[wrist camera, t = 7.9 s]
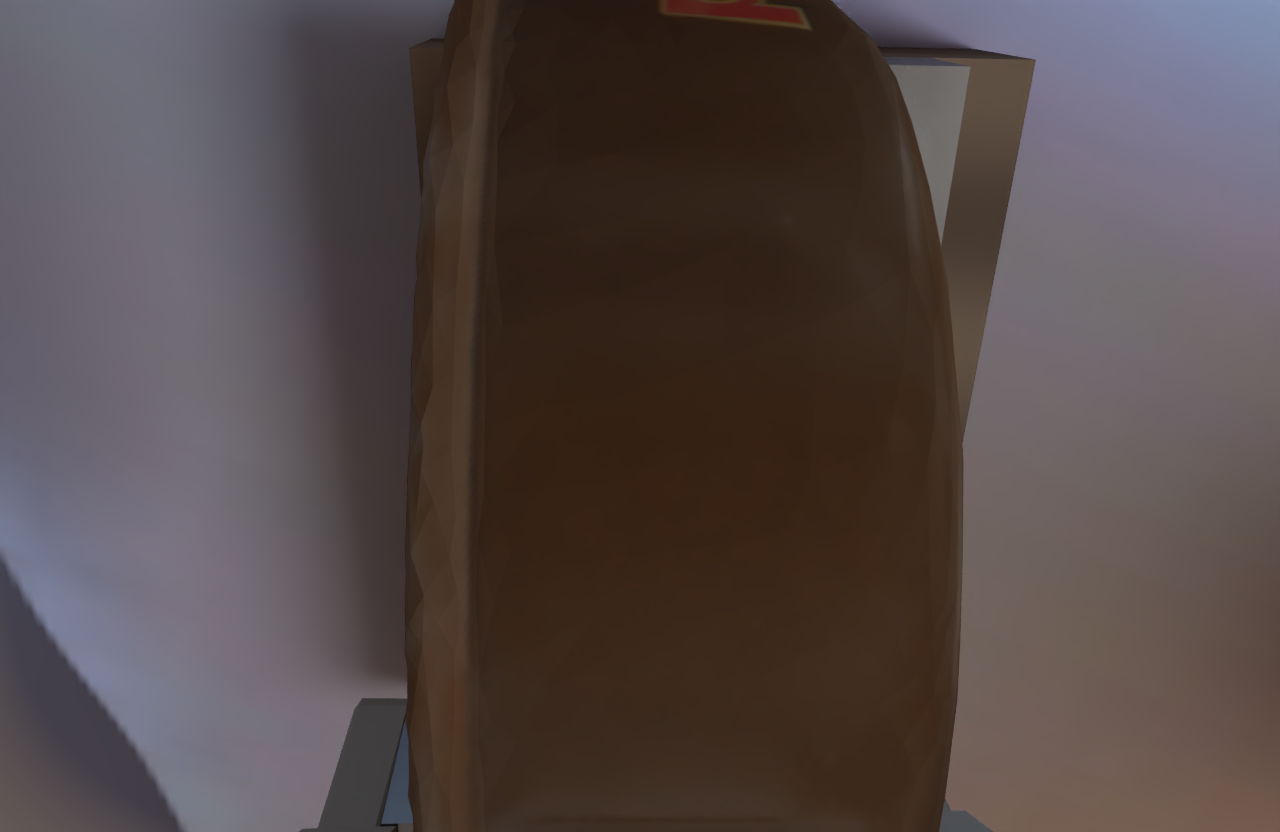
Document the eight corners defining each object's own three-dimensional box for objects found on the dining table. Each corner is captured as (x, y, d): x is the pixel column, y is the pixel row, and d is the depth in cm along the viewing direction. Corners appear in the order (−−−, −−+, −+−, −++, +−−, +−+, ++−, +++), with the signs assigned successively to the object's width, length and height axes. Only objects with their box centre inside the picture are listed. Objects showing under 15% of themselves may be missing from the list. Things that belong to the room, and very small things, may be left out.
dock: (431, 38, 20) (390, 55, 15) (975, 49, 21) (1087, 68, 16) (476, 690, 28) (457, 829, 23) (871, 679, 28) (928, 811, 24)
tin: (524, -43, 10) (68, -141, 2) (815, -33, 10) (1296, -99, 2) (539, 905, 16) (426, 1710, 9) (717, 913, 16) (761, 1728, 9)
